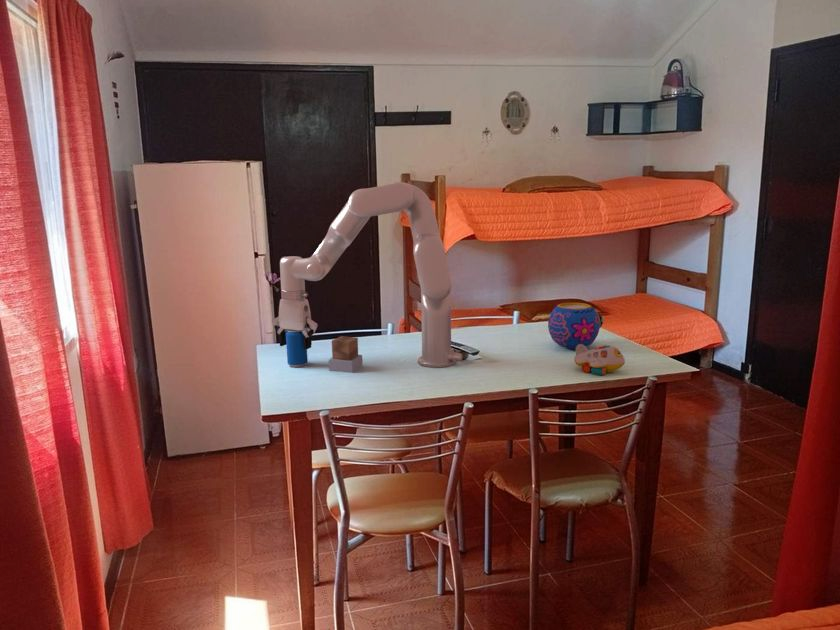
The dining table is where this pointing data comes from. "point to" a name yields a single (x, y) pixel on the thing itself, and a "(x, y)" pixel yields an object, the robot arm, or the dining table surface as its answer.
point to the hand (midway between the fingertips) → (295, 346)
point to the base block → (345, 364)
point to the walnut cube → (344, 348)
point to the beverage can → (296, 348)
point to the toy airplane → (599, 359)
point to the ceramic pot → (574, 324)
